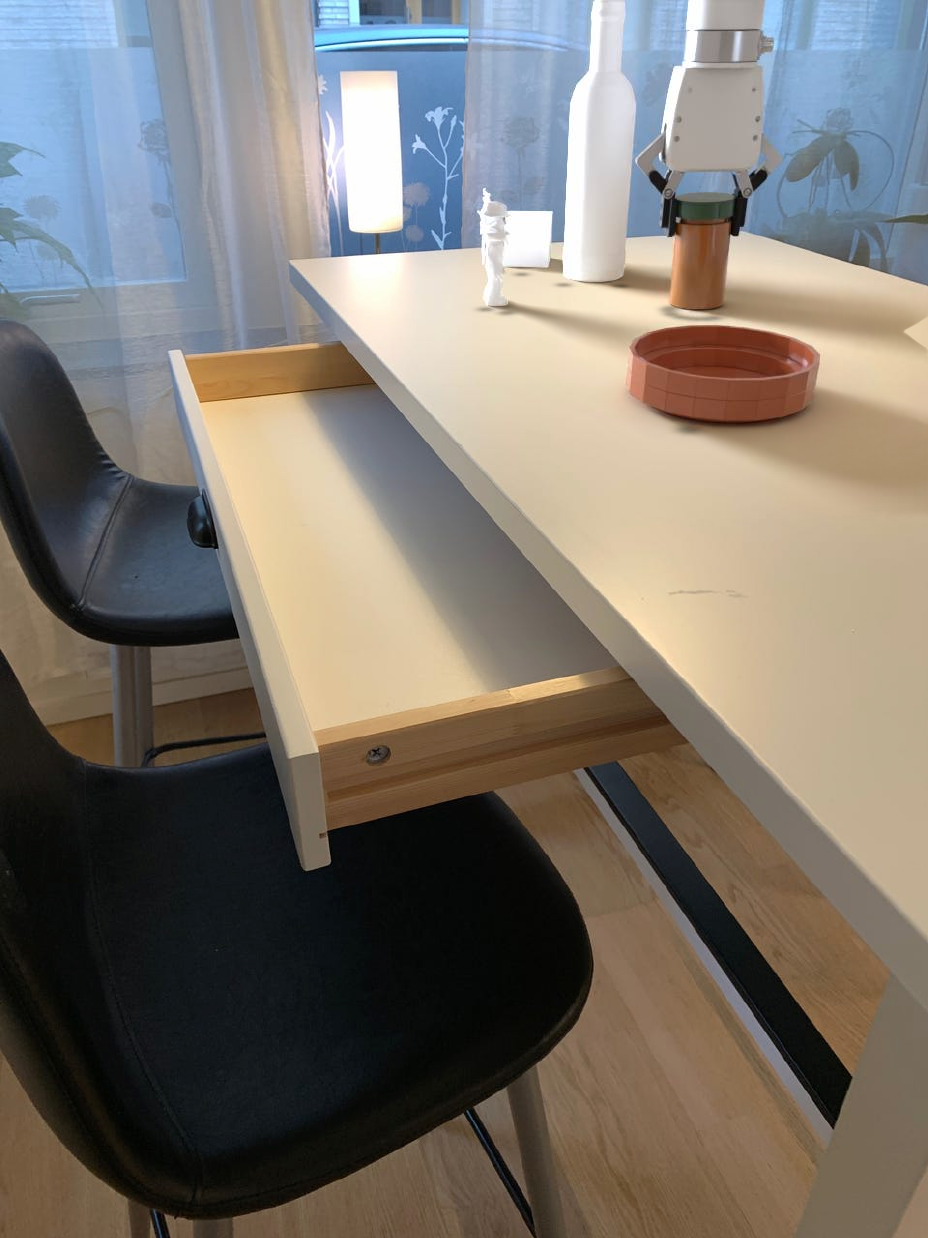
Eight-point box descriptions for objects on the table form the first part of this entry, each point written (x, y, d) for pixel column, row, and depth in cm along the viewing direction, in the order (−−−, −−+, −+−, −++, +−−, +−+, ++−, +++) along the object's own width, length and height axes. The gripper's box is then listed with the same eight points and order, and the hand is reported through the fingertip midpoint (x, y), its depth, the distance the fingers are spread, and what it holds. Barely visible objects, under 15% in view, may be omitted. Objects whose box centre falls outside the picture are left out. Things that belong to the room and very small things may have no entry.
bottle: (550, 277, 126) (561, -1, 110) (580, 265, 131) (594, -1, 115) (606, 285, 122) (625, -1, 106) (634, 273, 127) (657, -1, 111)
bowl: (782, 366, 94) (789, 324, 92) (836, 427, 80) (846, 379, 78) (615, 367, 94) (618, 325, 92) (640, 428, 81) (645, 380, 78)
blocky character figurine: (475, 292, 119) (475, 185, 113) (508, 291, 119) (509, 184, 113) (479, 312, 112) (479, 198, 105) (514, 311, 112) (516, 198, 105)
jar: (715, 294, 117) (724, 198, 111) (730, 307, 112) (740, 207, 106) (663, 297, 117) (669, 201, 111) (676, 310, 111) (683, 210, 106)
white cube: (503, 266, 131) (503, 218, 128) (507, 257, 136) (507, 210, 133) (548, 267, 130) (550, 219, 127) (550, 257, 135) (552, 211, 132)
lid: (746, 215, 107) (748, 198, 106) (693, 222, 105) (694, 204, 105) (713, 207, 113) (715, 190, 112) (662, 212, 111) (663, 195, 110)
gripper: (794, 48, 104) (767, 227, 114) (631, 50, 104) (618, 228, 114) (816, 51, 98) (786, 240, 107) (643, 52, 98) (628, 242, 107)
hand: (700, 232), depth 110 cm, fingers closed on lid, 6 cm apart
